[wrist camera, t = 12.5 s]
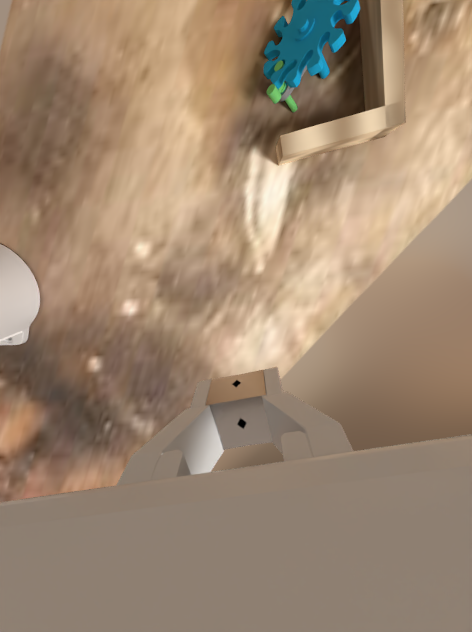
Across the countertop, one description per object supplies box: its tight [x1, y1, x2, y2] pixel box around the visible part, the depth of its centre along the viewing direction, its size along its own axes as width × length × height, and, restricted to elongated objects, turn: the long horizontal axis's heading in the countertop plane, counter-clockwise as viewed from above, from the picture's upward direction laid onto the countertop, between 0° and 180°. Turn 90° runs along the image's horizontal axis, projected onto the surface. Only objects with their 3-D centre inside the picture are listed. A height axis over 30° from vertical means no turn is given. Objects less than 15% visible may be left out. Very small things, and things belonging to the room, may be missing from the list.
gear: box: [264, 0, 360, 112], centre depth 27 cm, size 11×6×10 cm
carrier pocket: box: [276, 0, 406, 165], centre depth 27 cm, size 13×20×4 cm, turn 13°
